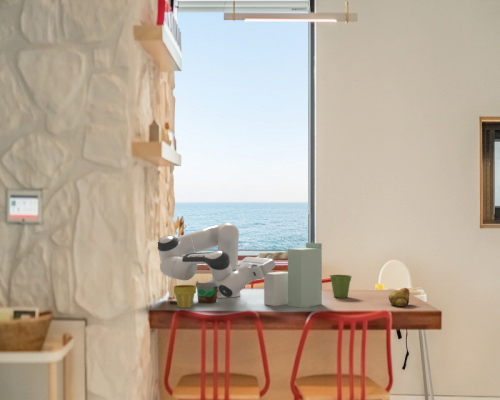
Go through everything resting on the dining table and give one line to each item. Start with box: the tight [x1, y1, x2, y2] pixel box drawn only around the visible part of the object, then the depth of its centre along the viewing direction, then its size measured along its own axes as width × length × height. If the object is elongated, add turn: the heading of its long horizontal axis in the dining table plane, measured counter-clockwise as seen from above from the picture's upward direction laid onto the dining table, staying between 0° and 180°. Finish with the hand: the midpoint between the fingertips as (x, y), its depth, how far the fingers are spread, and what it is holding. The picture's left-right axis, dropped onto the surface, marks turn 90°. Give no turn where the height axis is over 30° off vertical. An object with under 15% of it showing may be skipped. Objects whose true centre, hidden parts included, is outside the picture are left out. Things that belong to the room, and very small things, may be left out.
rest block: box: [263, 271, 288, 307], centre depth 251 cm, size 12×7×15 cm, turn 130°
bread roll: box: [388, 287, 411, 307], centre depth 247 cm, size 13×10×8 cm
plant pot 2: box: [329, 274, 353, 299], centre depth 271 cm, size 12×12×11 cm
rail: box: [258, 250, 288, 260], centre depth 250 cm, size 20×3×3 cm, turn 129°
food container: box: [195, 281, 218, 304], centre depth 254 cm, size 12×6×10 cm, turn 70°
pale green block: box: [287, 242, 323, 309], centre depth 248 cm, size 14×9×30 cm, turn 130°
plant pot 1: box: [173, 284, 197, 309], centre depth 243 cm, size 10×10×10 cm
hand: (267, 255), depth 246 cm, fingers closed on rail, 3 cm apart
